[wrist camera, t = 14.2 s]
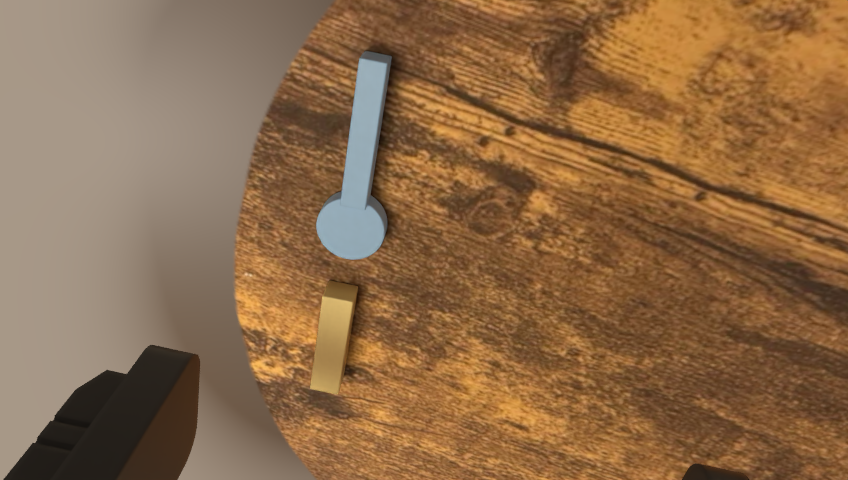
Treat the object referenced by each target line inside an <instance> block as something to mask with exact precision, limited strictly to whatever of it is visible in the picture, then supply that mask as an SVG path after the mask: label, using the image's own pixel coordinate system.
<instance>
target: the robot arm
mask: <svg viewBox="0 0 848 480" xmlns="http://www.w3.org/2000/svg"><path fill="white" fill-rule="evenodd" d="M199 373H200V359H199V357H198V355H196V354H192V353H187V352H183V351H178V350H173V349H169V348H164V347H159V346H155V345H150V346H148V347H147V348H146V349H145V350H144V351H143V353H142V354H141V355H140V357H139V358H138V360H137V361H136V362H135V364H134V365H133V366H132V368H131V369H130V371H129V372H128V374H123V373H118V372H114V371H109V370H106V371H105V372H103V373H101V374H100V375H98V376H97V377H95V378H93V379H92V380H90V381H89V382H87V383H85V384H84V385H82V386H81V387H79V388H77V389H76V390H75V391H74V392H73V394H72V395H71V396H70V397H69V399H68V400H67V401H66V402H65V404H64V405H63V406H62V407H61V409H60V410H59V411H58V412H57V414H56V415H55V418H54V420H53V421H50V422H49V424H48V425H47V426H46V427H45V429H44V430H43V431H42V432H41V433H40V435H39V436H38V438H37V441H36V443H32V445H31V446H30V447H29V449H28V450H27V451H26V452H25V454H24V455H23V456H22V457H21V458H20V460H19V461H18V462H17V463H16V465H15V466H14V467H13V468H12V470H11V471H10V472H9V473H8V475H7V476H6V477H5V478H4V480H177V479H178V477H179V476H180V474H181V472H182V470H183V468H184V466H185V464H186V462H187V459H188V457H189V454H190V452H191V448H192V446H193V442H194V438H195V434H196V428H197V414H198V393H199ZM682 480H749V479H748V477H747V476H746V475H744V474H743V473H739V472H734V471H730V470H725V469H720V468H716V467H711V466H706V465H702V464H693V465H692V466H690V467H689V469H688V470H687V472H686V473H685V475H684V477H683V479H682Z"/></svg>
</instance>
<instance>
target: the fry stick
mask: <svg viewBox="0 0 848 480" xmlns="http://www.w3.org/2000/svg"><path fill="white" fill-rule="evenodd" d="M357 293H358V286H355V285H350V284H345V283H340V282H335V281H331V280H329V281H328V284H327V286H326V289H325V291H324V294H323V296H322V303H321V310H320V317H319V325H318V332H317V340H316V347H315V354H314V362H313V369H312V377H311V384H310V389H313V390H318V391H323V392H328V393H333V394H339V390H340V387H341V384H342V381H343V377H344V372H345V366H346V360H347V354H348V348H349V341H350V335H351V329H352V323H353V317H354V311H355V305H356V299H357Z"/></svg>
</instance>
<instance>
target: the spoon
mask: <svg viewBox="0 0 848 480" xmlns="http://www.w3.org/2000/svg"><path fill="white" fill-rule="evenodd" d="M391 60H392V56H389V55H384V54H379V53H374V52H369V51H365V52H364V53H363V54H362V56H361V57H360V58H359V64H358V72H357V79H356V87H355V94H354V102H353V109H352V117H351V125H350V132H349V140H348V147H347V155H346V162H345V170H344V177H343V185H342V191H340V192H338V193H335V194H334V195H332V196H331V197H330V198H329V199H328V200H327V201H326V202H325V203H324V205H323V207H322V209H321V211H320V213H319V215H318V218H317V224H316V227H317V233H318V236H319V239H320V240H321V242H322V244H323V245H324V246H325V247H326V248H327V249H328V250H329V251H330V252H332V253H333V254H335V255H337V256H339V257H342V258H345V259H362V258H365V257H368V256H370V255H372V254H373V253H375V252H376V251H377V250H378V249H379V247H380V246H381V244H382V242H383V240H384V237H385V234H386V230H387V224H388V223H387V216H386V213H385V210H384V208H383V207H382V205H381V204H380V203H379V202H378V201H377V200H376V199H375V198H374V197H372V196H371V189H372V183H373V176H374V170H375V163H376V157H377V150H378V144H379V137H380V131H381V125H382V118H383V112H384V105H385V99H386V92H387V86H388V79H389V73H390V66H391Z"/></svg>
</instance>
